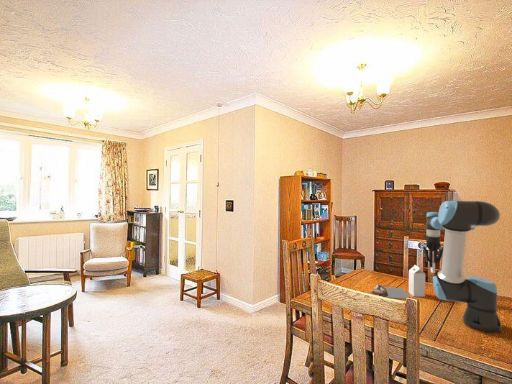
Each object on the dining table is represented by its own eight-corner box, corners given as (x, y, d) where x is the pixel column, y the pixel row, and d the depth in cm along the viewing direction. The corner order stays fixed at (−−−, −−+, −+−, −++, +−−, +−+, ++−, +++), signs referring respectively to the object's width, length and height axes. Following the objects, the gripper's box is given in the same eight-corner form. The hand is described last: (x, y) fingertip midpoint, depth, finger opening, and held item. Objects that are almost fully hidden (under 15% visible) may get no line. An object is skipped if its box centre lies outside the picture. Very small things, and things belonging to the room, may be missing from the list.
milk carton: (419, 293, 182) (419, 264, 182) (425, 297, 175) (425, 267, 175) (408, 292, 183) (408, 264, 183) (413, 296, 176) (413, 267, 176)
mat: (413, 299, 170) (413, 299, 170) (383, 297, 174) (383, 296, 174) (402, 288, 190) (402, 288, 190) (376, 287, 194) (376, 286, 194)
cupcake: (371, 297, 174) (372, 282, 174) (388, 300, 169) (388, 284, 169) (369, 302, 165) (369, 286, 165) (387, 306, 160) (387, 289, 160)
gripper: (441, 235, 180) (441, 271, 180) (419, 234, 182) (419, 270, 182) (447, 237, 172) (447, 274, 172) (424, 236, 175) (424, 273, 175)
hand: (432, 272), depth 177 cm, fingers closed
